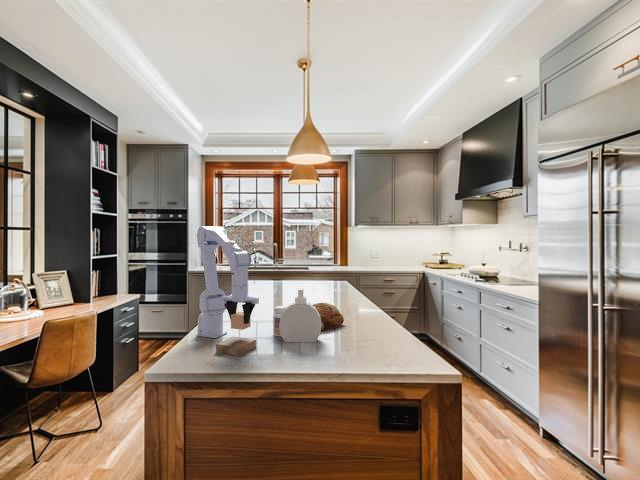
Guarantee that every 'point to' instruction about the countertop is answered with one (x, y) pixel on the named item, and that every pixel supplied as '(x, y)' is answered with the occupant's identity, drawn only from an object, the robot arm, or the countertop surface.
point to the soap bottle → (300, 321)
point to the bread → (329, 316)
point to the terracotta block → (239, 321)
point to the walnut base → (236, 346)
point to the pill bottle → (278, 319)
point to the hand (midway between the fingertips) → (239, 322)
